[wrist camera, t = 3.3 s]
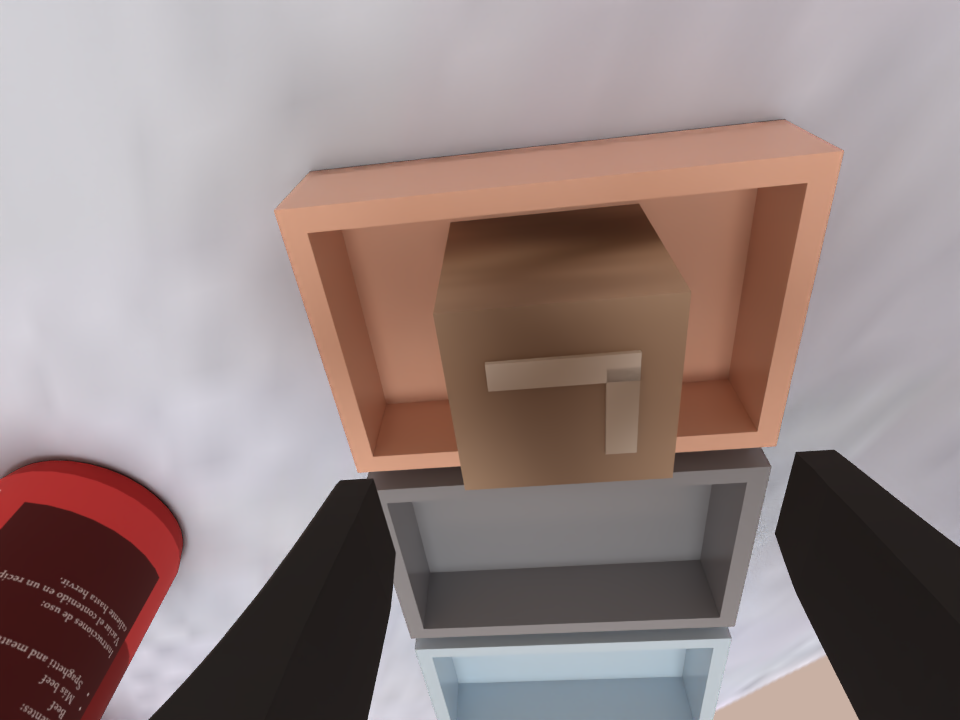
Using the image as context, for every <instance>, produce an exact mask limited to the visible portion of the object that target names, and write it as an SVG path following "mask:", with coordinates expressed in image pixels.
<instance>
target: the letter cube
mask: <svg viewBox="0 0 960 720" xmlns="http://www.w3.org/2000/svg"><path fill="white" fill-rule="evenodd" d="M690 300H691V290H690V288H689V287H688V285H687V283H686V282H685V280H684V278H683V277H682V275H681V273H680V272H679V270H678V268H677V267H676V265H675V263H674V262H673V260H672V258H671V257H670V255H669V253H668V251H667V250H666V248H665V246H664V245H663V243H662V241H661V240H660V238H659V236H658V235H657V233H656V231H655V230H654V228H653V226H652V225H651V223H650V221H649V220H648V218H647V216H646V215H645V213H644V211H643V209H642V208H641V206H640V204H629V205H619V206H609V207H599V208H589V209H579V210H569V211H559V212H549V213H539V214H529V215H519V216H509V217H499V218H489V219H479V220H469V221H459V222H450V228H449V233H448V238H447V243H446V249H445V254H444V259H443V264H442V269H441V275H440V280H439V285H438V290H437V296H436V301H435V306H434V311H433V317H434V322H435V328H436V333H437V339H438V344H439V350H440V355H441V361H442V366H443V372H444V377H445V383H446V388H447V394H448V399H449V405H450V410H451V416H452V421H453V427H454V432H455V438H456V443H457V449H458V454H459V460H460V465H461V471H462V476H463V482H464V487H465V490H480V489H496V488H513V487H530V486H547V485H564V484H580V483H597V482H614V481H631V480H648V479H664V478H673V469H674V459H675V449H676V439H677V429H678V420H679V410H680V400H681V390H682V380H683V370H684V360H685V350H686V340H687V330H688V320H689V310H690Z"/></svg>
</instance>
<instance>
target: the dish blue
mask: <svg viewBox="0 0 960 720" xmlns="http://www.w3.org/2000/svg"><path fill="white" fill-rule="evenodd" d="M731 640H732V637H731V635H730V632H729V629H728V627H705V628H678V629H652V630H625V631H599V632H572V633H545V634H519V635H492V636H466V637H439V638H416V644H415V652H416V655H417V658H418V661H419V665H420V668H421V671H422V674H423V677H424V680H425V683H426V686H427V689H428V693H429V696H430V699H431V702H432V705H433V708H434V711H435V714H436V718H437V720H713V718H714V714H715V709H716V705H717V701H718V696H719V692H720V688H721V683H722V679H723V675H724V670H725V666H726V662H727V657H728V653H729V649H730V644H731Z"/></svg>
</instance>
